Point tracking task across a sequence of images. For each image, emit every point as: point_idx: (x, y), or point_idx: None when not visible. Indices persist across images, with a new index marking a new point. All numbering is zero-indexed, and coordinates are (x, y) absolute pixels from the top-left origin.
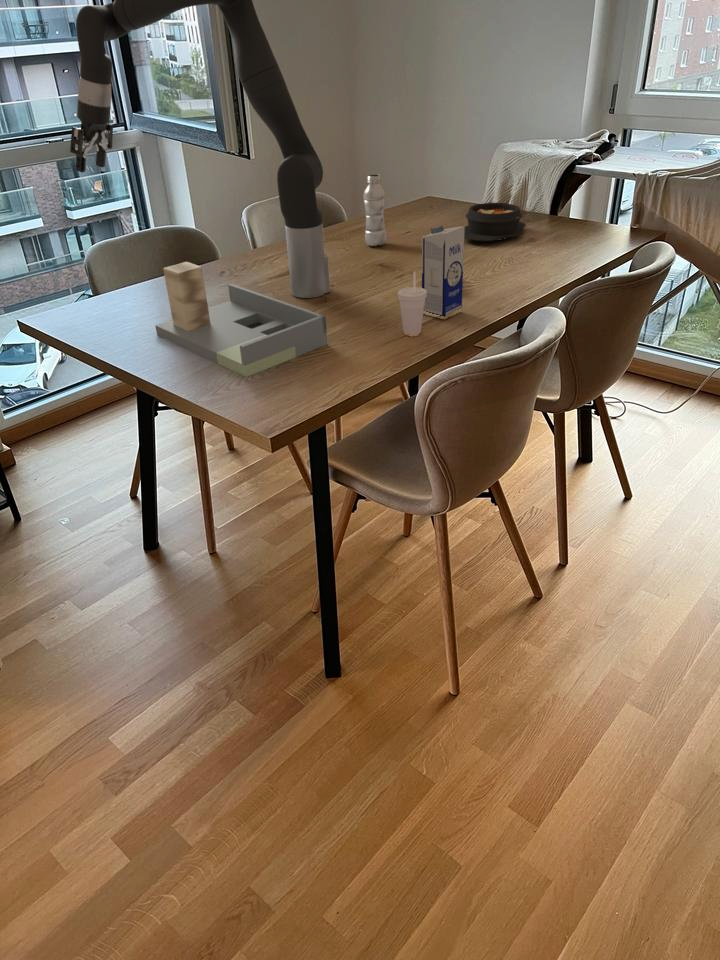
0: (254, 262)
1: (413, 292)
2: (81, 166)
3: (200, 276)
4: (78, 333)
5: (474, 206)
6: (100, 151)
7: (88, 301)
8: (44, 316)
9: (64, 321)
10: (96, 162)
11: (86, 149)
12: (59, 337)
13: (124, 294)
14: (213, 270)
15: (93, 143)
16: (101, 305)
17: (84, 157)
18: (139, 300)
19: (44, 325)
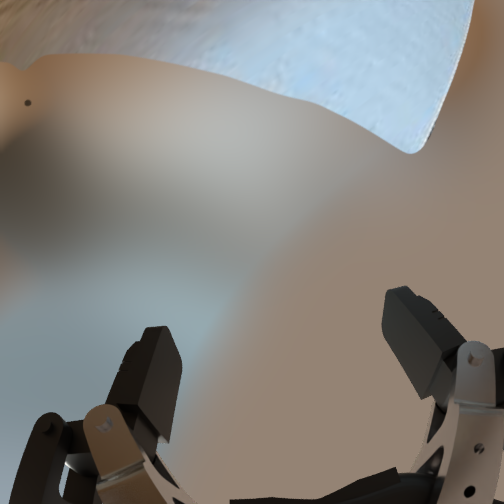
0: (25, 4)
1: None
2: (430, 310)
3: None
4: (439, 53)
5: None
6: (149, 428)
7: (332, 109)
8: (400, 137)
9: (412, 95)
10: (179, 374)
11: (484, 397)
12: (451, 73)
13: (280, 65)
14: (82, 16)
15: (445, 478)
16: (344, 73)
17: (465, 343)
18: (301, 19)
19: (426, 116)
